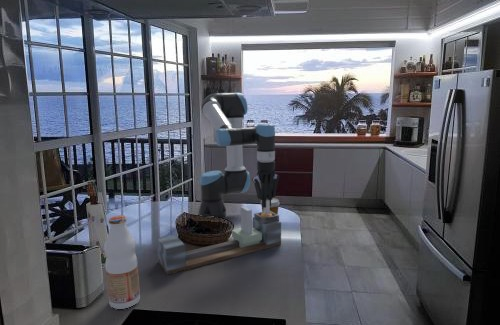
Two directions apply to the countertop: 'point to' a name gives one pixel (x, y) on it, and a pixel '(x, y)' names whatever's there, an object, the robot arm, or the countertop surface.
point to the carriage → (246, 230)
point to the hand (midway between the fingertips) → (266, 214)
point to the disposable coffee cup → (273, 205)
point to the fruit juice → (121, 265)
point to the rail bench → (221, 255)
